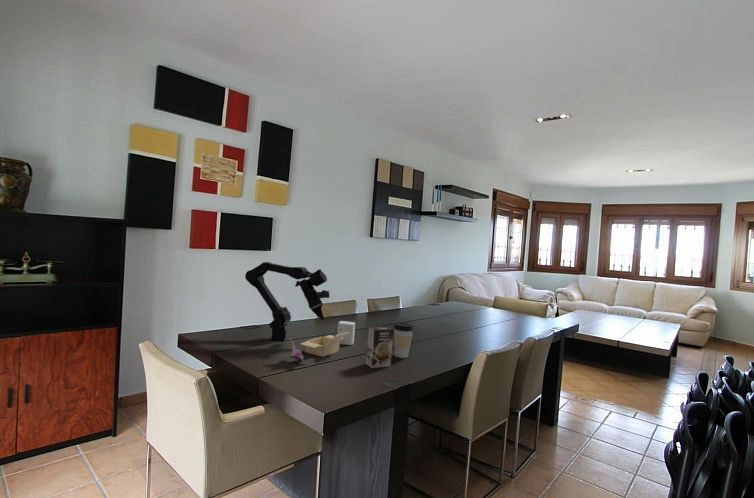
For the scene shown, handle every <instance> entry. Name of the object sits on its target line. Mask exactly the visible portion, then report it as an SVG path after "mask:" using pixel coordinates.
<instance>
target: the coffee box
mask: <svg viewBox="0 0 754 498" xmlns="http://www.w3.org/2000/svg"><path fill="white" fill-rule="evenodd" d="M394 332H395V329H394V328H392V327H388V326H369V327H368V335H367V344H366V345H367V346H366V353H365V355H366V357H365V365H367V366H368V367H370V368H371V369H375V368H376V369H377V368H388V367H389V368H390V367H391V363H392V362H391V361H392V352H393V350H392V349H393V341H394V339H393V338H394Z"/></svg>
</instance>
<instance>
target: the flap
mask: <svg viewBox="0 0 754 498" xmlns="http://www.w3.org/2000/svg"><path fill="white" fill-rule="evenodd" d="M347 333H349V332H346V333H342V334H339V335H337V334H336V335H334V336H335V337H333V338H332V339H331V340H330V341H329V342H327V343H326V344H325V345H327V344H330V343H334V342H337V341H339V340H340V339H341V338H342V337H344V336H345V335H346V334H347Z"/></svg>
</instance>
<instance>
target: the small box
mask: <svg viewBox="0 0 754 498" xmlns="http://www.w3.org/2000/svg"><path fill="white" fill-rule="evenodd" d="M355 329H356V322H355V321H346V320H345V321H344V320H340V321H339V322H338V323H337V333H336V335H339V334H342V333H346V332H349V333H347V334H346V335H345V336H344V337H342V338H344V339H342V340H339V341H340V345H345V346H353V344H354V343H355V332H356V331H355Z"/></svg>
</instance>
